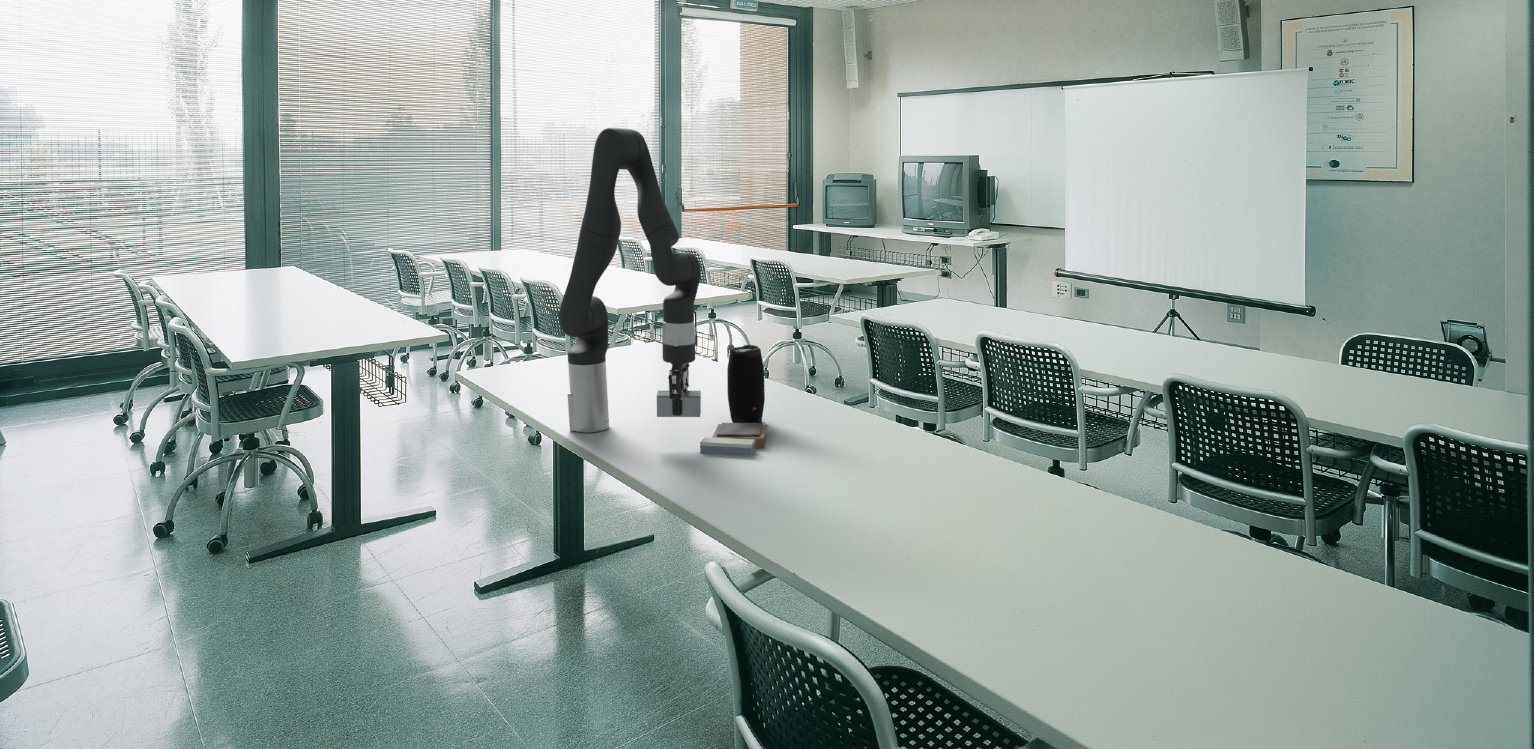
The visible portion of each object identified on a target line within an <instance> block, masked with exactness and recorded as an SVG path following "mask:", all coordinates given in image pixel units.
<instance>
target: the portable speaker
mask: <svg viewBox="0 0 1534 749" xmlns="http://www.w3.org/2000/svg"><path fill="white" fill-rule="evenodd" d="M728 354H729V356H728V357H729V358H728V363H727V370H726V371H727V372H726V374H727V401H728V407H729V408H728V409H729V415H730V418H731V419H730V420H731V421H732V422H731V423H763V414H764V408H765V400H766V398H765V397H766V396H765V392H766V391H765V368H764V367H765V366H764V362H763V357H762V351H761V348H760V347H759V346H758V345H753V344H744V345H743V346H736V347H735V346H731V347H730V348H729V353H728Z"/></svg>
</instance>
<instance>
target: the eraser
mask: <svg viewBox="0 0 1534 749" xmlns="http://www.w3.org/2000/svg"><path fill="white" fill-rule="evenodd" d="M755 451H756V448H755V440H752V439H731V438H712V437H710V436H709V437H707V436H705V437H703V438H702V439H701V440H700V442H699V453H700V454H704V455H705V454H706V453H708V454H706V455H722V456H723V455H726V456H728V455H729V456H743V455H747V457H749V456H750V457H752V456H753V454H754V453H755ZM751 455H752V456H751Z"/></svg>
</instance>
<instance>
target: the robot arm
mask: <svg viewBox="0 0 1534 749" xmlns="http://www.w3.org/2000/svg"><path fill="white" fill-rule="evenodd" d="M590 170H591V172H590V180H589V185H588V186H589V187H588V192H587V197H586V203H585V208H584V212H583V217H582V220H581V225H580V229H579V235H578V239H577V246H576V250H575V255H574V259H573V263H572V267H571V270H570V276H569V279H568V281H567V284H566V289H565V292H564V295H563V297H562V300H561V303H560V306H559V307H560V308H559V309H558V310H559V312H558V322H559V326H560V329H561V331H562V333H564V334H565V335H566V336H568V337H571V338H577V339H576V341H575V343H574V345H573V346H572V347H571V348H570V349H569V351H568V352H567V364H568V381H569V382H568V383H569V384H568V385H569V392H568V394H567V404H568V405H567V407H568V408H567V409H568V418H569V419H568V422H569V423H568V424H569V431H570V432H572V431H573V432H578V433H587V434H589V433H598V432H602V431H605V430H607V429H609V428H610V417H609V398H608V381H607V380H608V379H607V377H608V376H607V362H606V361H607V360H606V358H607V357H606V355H607V351H608V348H609V316H608V310H607V308H606V305H605V303H604V302H603V300H602V299H600V298H599V297H597V296H594V293H595V289H596V286H597V284H598V282H599V280H600V279H601V278H602V276H603V274H604V273H605V271H607V268H608V267H609V265H610V263H611V262H612V261H613V258H614V257H615V254H616V252H617V249H618V243H619V240H620V235H621V232H622V220H621V214H620V213H619V208H618V205H617V202H616V196H615V190H616V184H617V178H618V176H619V175H618V174H619V172H620V170H627V171H628V172H629V174H630V177H631V178H632V179H633V182H634V184H635V186H636V192H637V207H636V208H637V217H638V220H639V224H640V226H641V228H642V231H643V233H644V235H645V237H646V239H647V242H648V244H649V247H650V254H651V260H652V266H653V267H652V268H653V271H654V274H655V276H656V278H657V279H658V281H660V283H662V284H663V285H665V286H669V287H672V286H673V287H674V286H675V287H674V290H673V292H672V293H671V294H669V295H667V296H666V297H664V299H663V300H662V310H663V311H662V314H663V315H662V317H663V318H662V319H663V320H662V331H661V334H662V335H661V336H662V337H661V339H662V361H663V362H665V363H668V364H669V363H670V364H671V369H669V371H668V372H669V374H668V391H669V394H670V395H669V398H670V399H671V400H672V414H673V415H674V416H681V415H682V399H683V391H689V390H688V389H689V387H690V385H689V378H690V377H689V376H690V363H692V362H695V360H696V326H695V308H694V307H695V300H696V296H697V294H698V289H699V285H700V281H701V275H702V269H701V263H700V261H699V259H698V258H697V256H696V255H695V254H693V253H692V252H678V253H674V252H673V248H672V247H673V246H675V245H676V244H677V243H678V242H679V240H680V235H679V232H678V229H677V227H676V224H675V222H674V220H673V218H672V216H671V214H670V212H669V210H668V207H667V205H666V203H665V201H664V197H663V194H662V191H661V188H660V185H659V181H658V177H657V174H656V170H655V168H654V164H653V161H652V157H651V154H650V151H649V147H648V144H647V142H646V140H645V138H644V136H643V135H642V134H641V132H639V131H638V130H636V129H630V128H620V127H606V128H603V129H602V130H601V131H600V132H599V133H598V135H597V138H596V140H595V141H594V146H593V153H592V163H591V169H590ZM674 391H678V394H674Z"/></svg>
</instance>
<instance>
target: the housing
mask: <svg viewBox="0 0 1534 749" xmlns="http://www.w3.org/2000/svg"><path fill="white" fill-rule="evenodd" d="M674 394H678V391H676V390H675V391H674ZM701 394H702V391H701V390H688V391H683V399H682V415H681V416H674V415H673V414H672V400H671V399H670V398H669V395H670V394H669V390H657V393H656V417H657V418H701V413H702V395H701Z"/></svg>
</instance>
